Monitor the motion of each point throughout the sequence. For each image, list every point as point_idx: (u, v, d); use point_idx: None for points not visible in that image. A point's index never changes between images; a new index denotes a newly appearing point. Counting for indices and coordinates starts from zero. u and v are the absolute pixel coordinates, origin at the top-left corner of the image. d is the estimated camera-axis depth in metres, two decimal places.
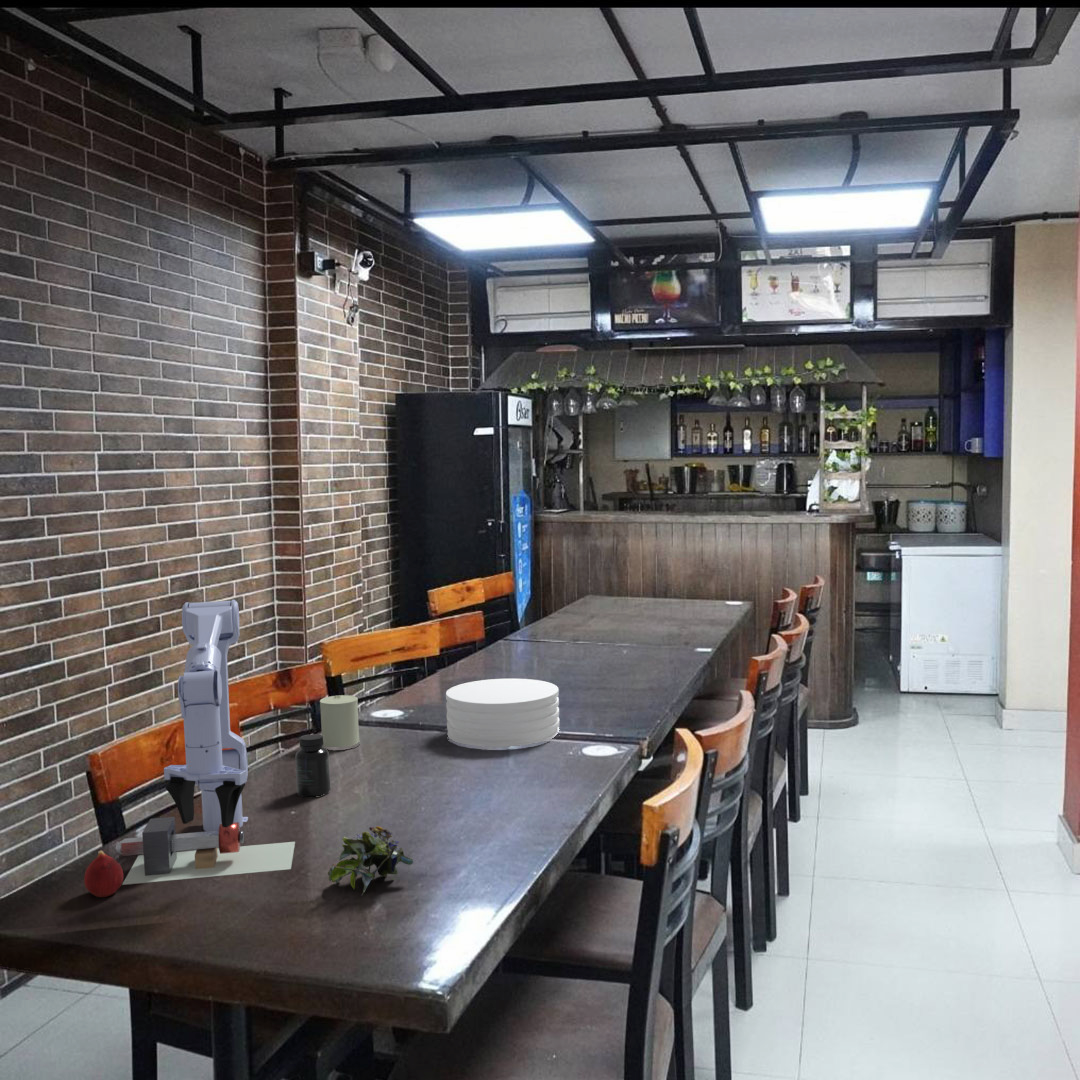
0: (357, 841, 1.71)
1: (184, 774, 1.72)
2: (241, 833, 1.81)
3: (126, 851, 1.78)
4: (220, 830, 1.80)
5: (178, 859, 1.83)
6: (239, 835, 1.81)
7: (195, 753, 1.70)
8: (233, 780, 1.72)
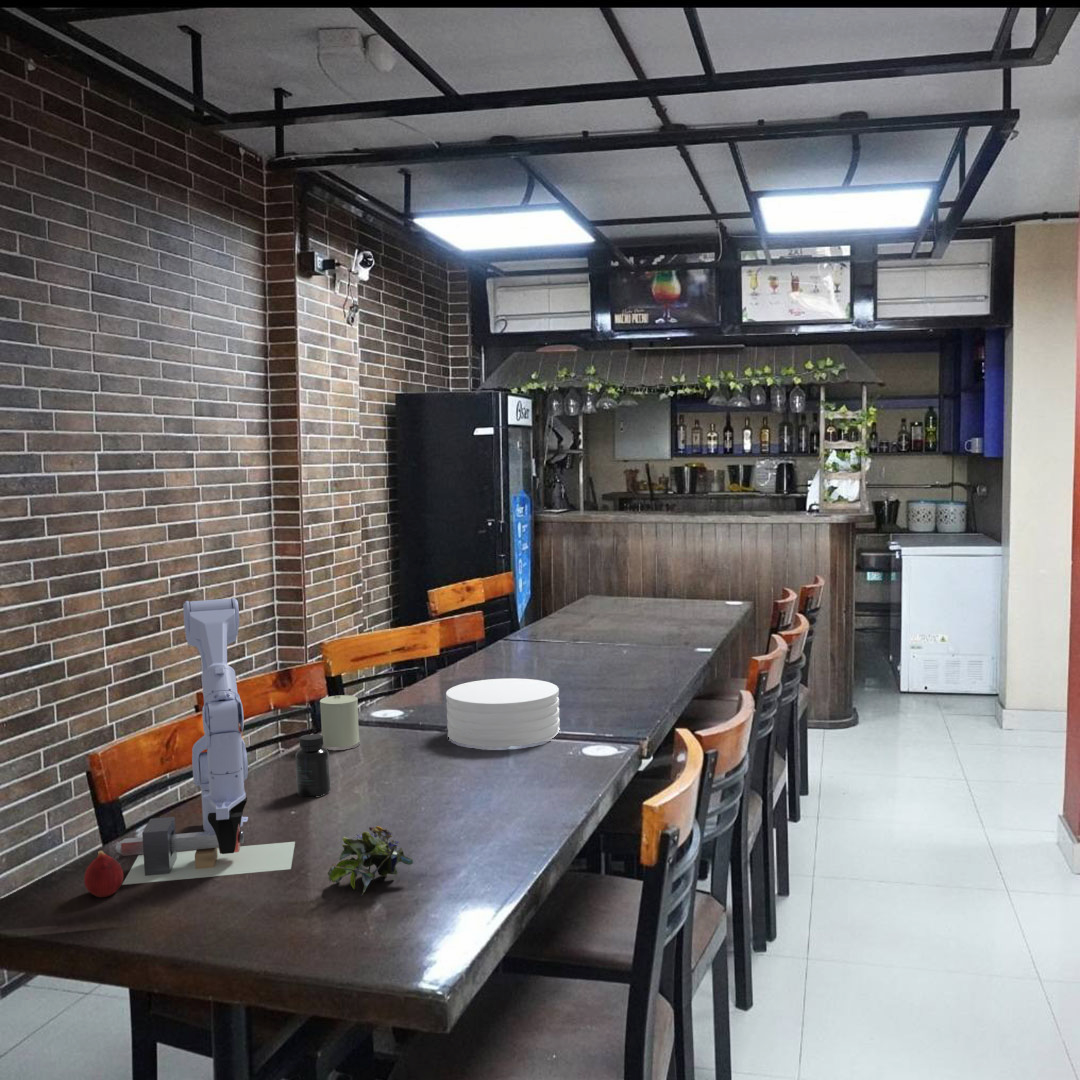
0: (357, 841, 1.71)
1: None
2: (241, 833, 1.81)
3: (126, 851, 1.78)
4: None
5: (178, 859, 1.83)
6: (239, 835, 1.81)
7: (208, 776, 1.80)
8: None
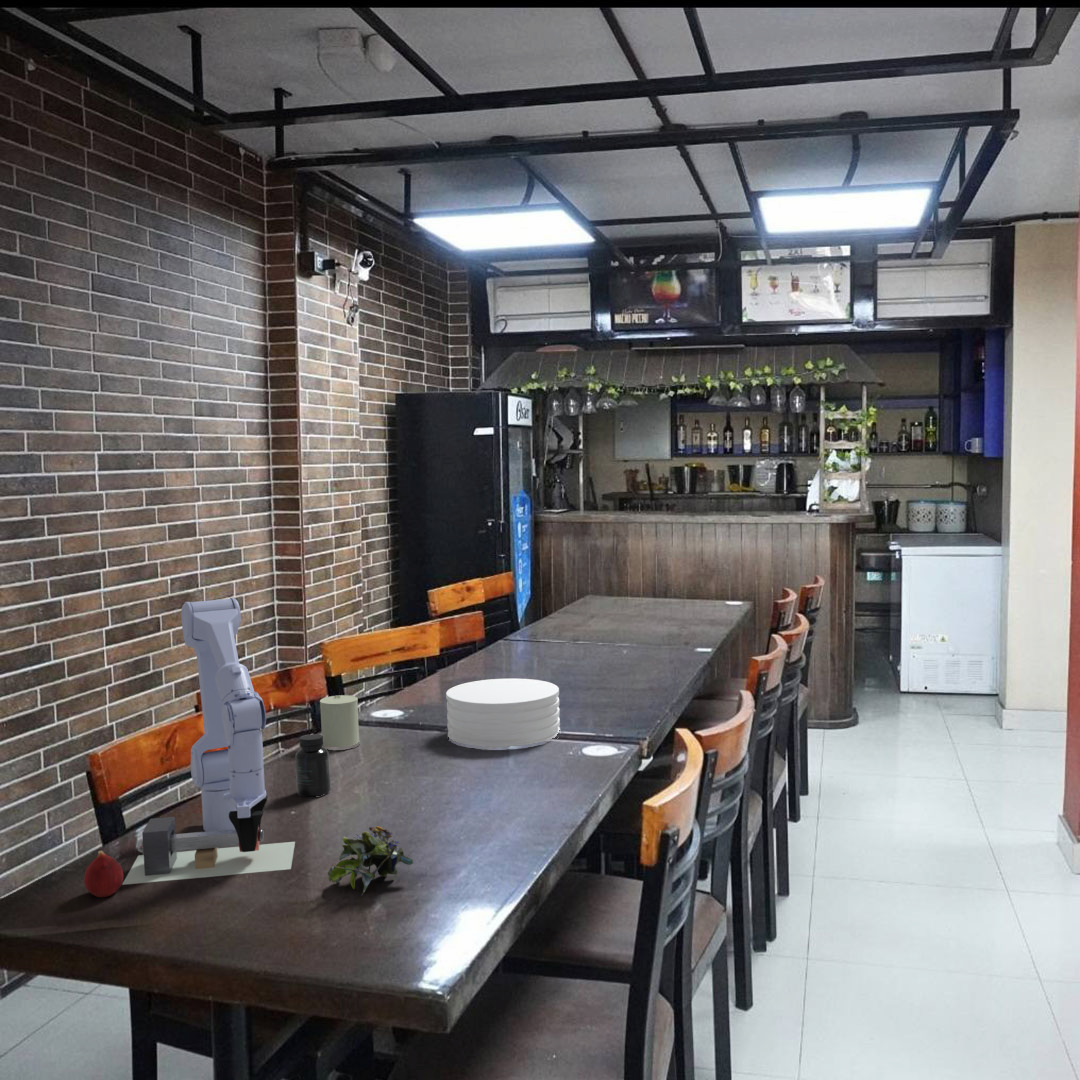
0: (357, 841, 1.71)
1: None
2: (261, 831, 1.82)
3: None
4: None
5: (178, 859, 1.83)
6: (259, 833, 1.81)
7: None
8: None
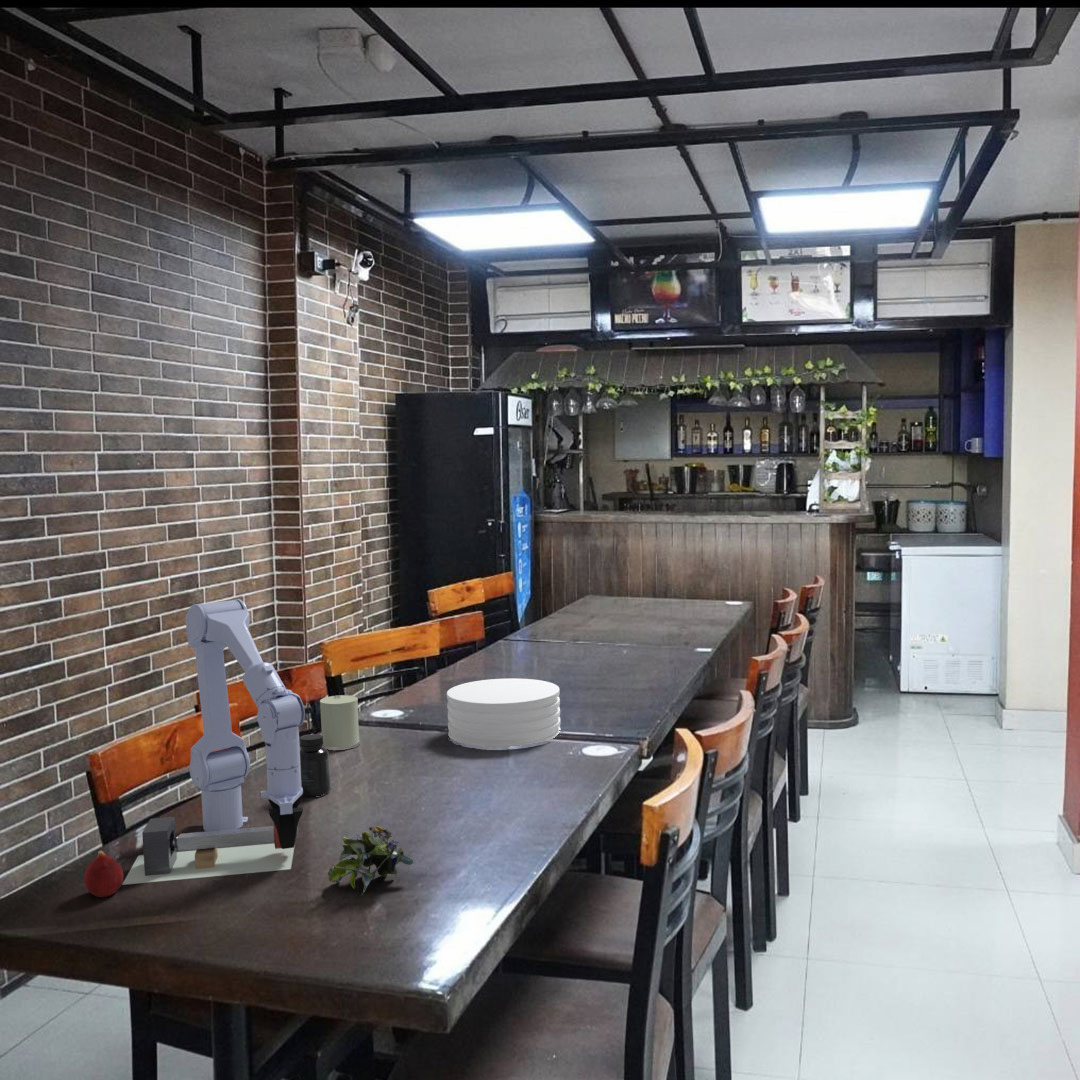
0: (357, 841, 1.71)
1: None
2: None
3: (182, 846, 1.79)
4: None
5: (178, 859, 1.83)
6: None
7: (267, 772, 1.81)
8: None
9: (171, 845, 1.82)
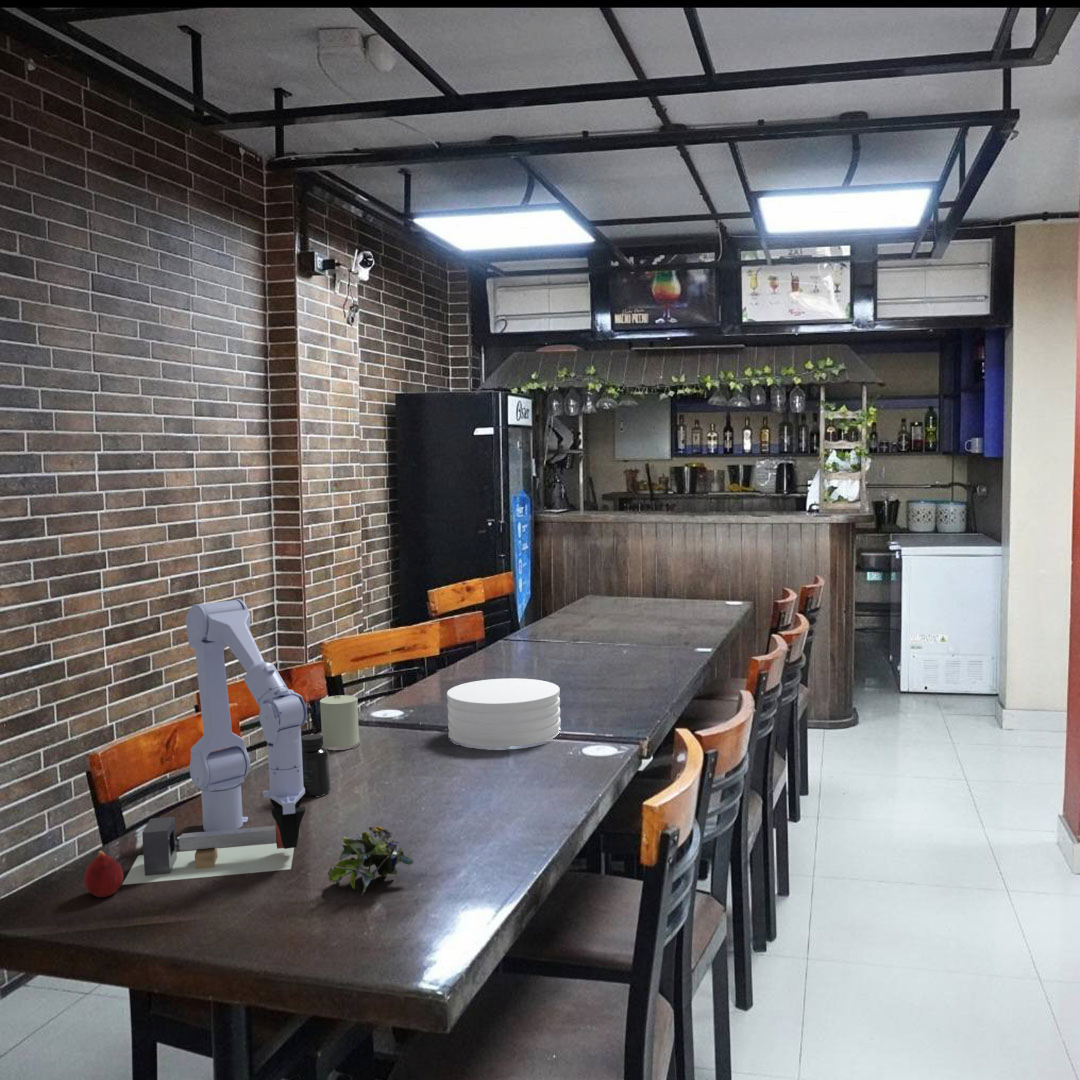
0: (357, 841, 1.71)
1: None
2: None
3: (184, 846, 1.79)
4: (277, 825, 1.81)
5: (178, 859, 1.83)
6: None
7: (269, 772, 1.81)
8: None
9: (171, 845, 1.82)
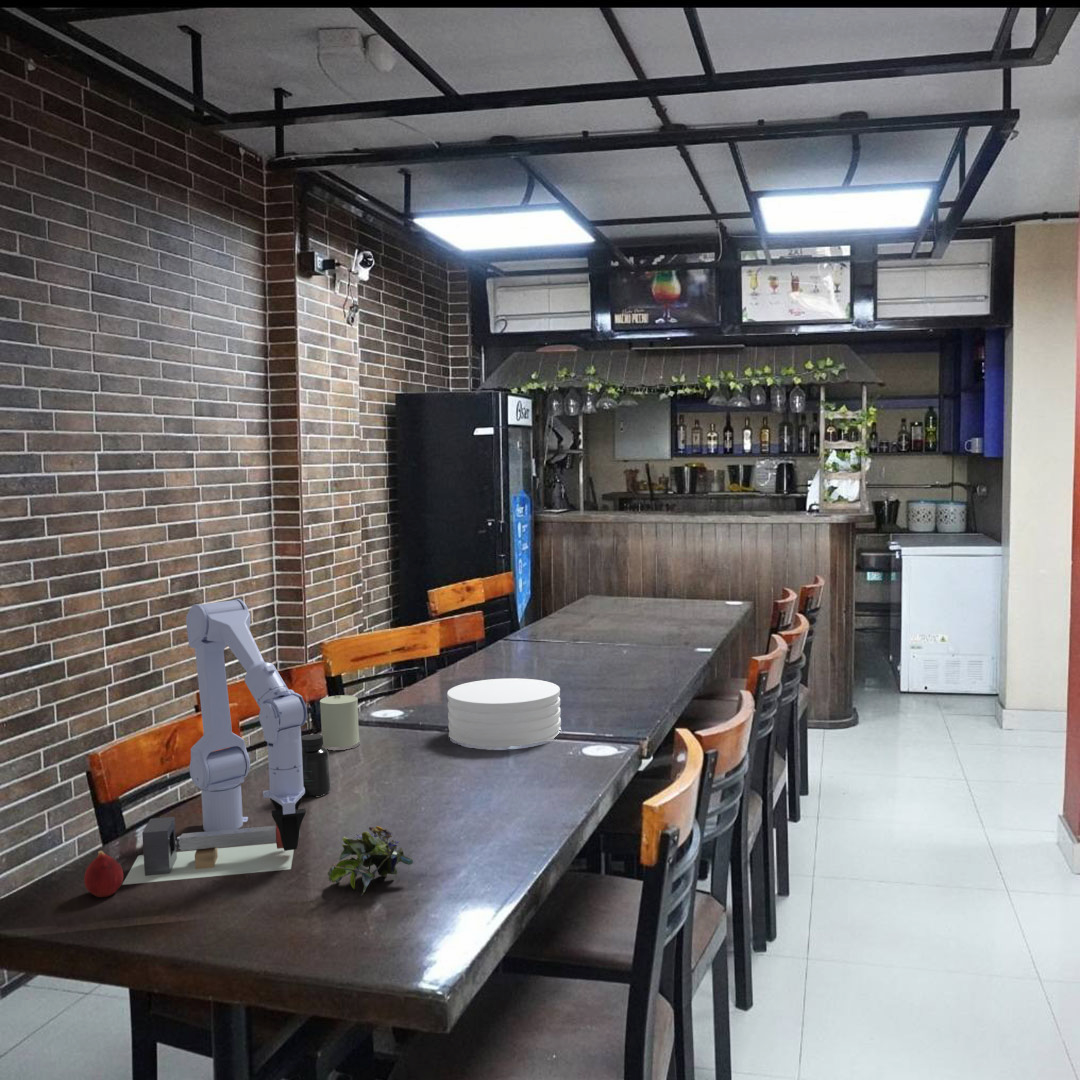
0: (357, 841, 1.71)
1: None
2: None
3: (184, 846, 1.79)
4: None
5: (178, 859, 1.83)
6: None
7: (269, 772, 1.81)
8: None
9: (171, 845, 1.82)
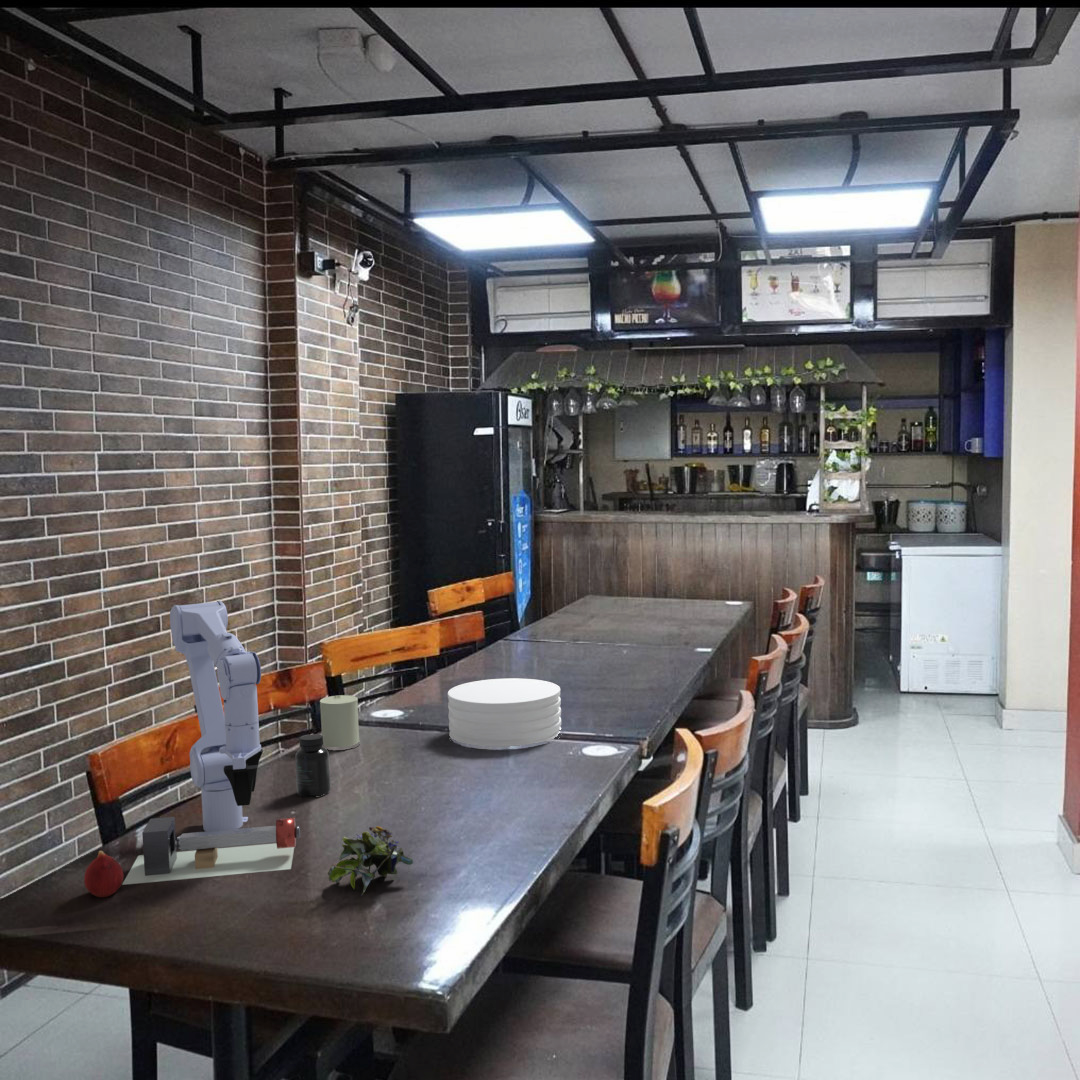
0: (357, 841, 1.71)
1: None
2: (297, 828, 1.83)
3: (184, 846, 1.79)
4: (277, 825, 1.81)
5: (178, 859, 1.83)
6: (296, 830, 1.82)
7: (225, 729, 1.84)
8: None
9: (171, 845, 1.82)
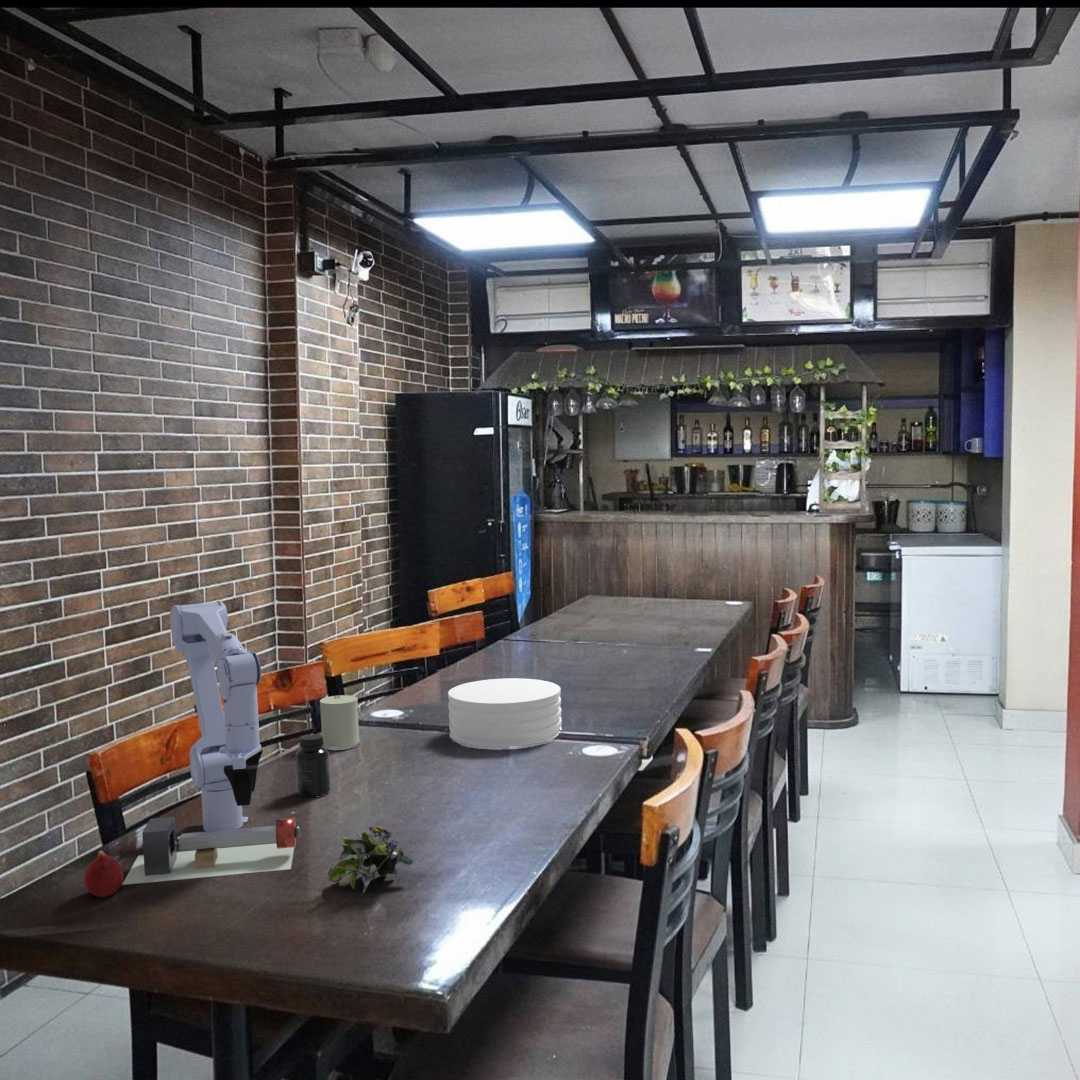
0: (357, 841, 1.71)
1: None
2: (297, 828, 1.83)
3: (184, 846, 1.79)
4: (277, 825, 1.81)
5: (178, 859, 1.83)
6: (296, 830, 1.82)
7: (225, 729, 1.84)
8: None
9: (171, 845, 1.82)
